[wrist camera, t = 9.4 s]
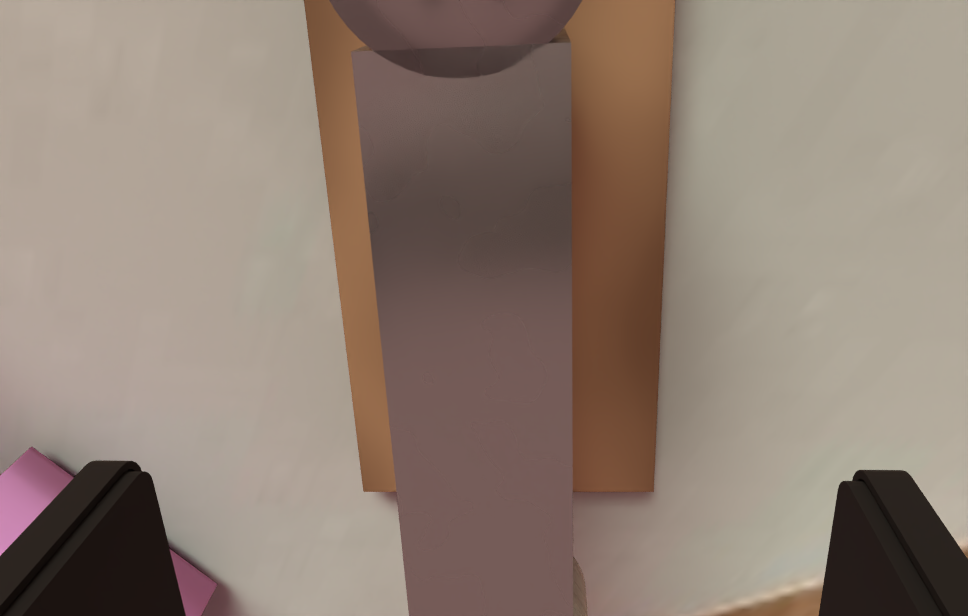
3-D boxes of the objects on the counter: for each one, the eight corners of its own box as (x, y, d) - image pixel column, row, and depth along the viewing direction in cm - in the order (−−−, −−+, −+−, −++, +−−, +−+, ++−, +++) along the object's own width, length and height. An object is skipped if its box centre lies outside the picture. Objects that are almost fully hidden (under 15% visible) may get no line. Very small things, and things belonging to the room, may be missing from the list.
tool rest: (670, -95, 22) (725, -123, 15) (648, 466, 29) (680, 609, 22) (309, -76, 23) (218, -95, 16) (371, 467, 29) (325, 605, 23)
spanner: (589, -206, 15) (606, -264, 11) (585, 654, 23) (594, 783, 19) (347, -191, 15) (286, -243, 12) (426, 652, 23) (405, 778, 20)
